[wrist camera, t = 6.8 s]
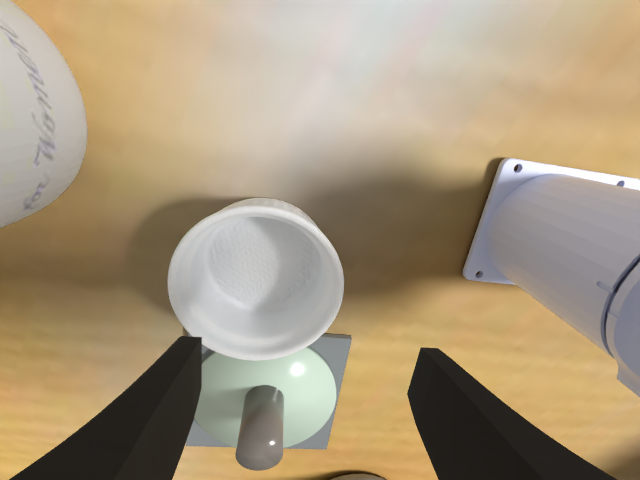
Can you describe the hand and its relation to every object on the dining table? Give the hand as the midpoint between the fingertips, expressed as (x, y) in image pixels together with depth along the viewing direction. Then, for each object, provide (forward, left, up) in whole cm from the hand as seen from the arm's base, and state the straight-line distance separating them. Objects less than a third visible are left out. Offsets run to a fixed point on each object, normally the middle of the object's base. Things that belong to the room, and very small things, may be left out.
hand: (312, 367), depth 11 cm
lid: (+1, +12, -10) cm, 15 cm away
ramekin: (+2, +1, -11) cm, 11 cm away
